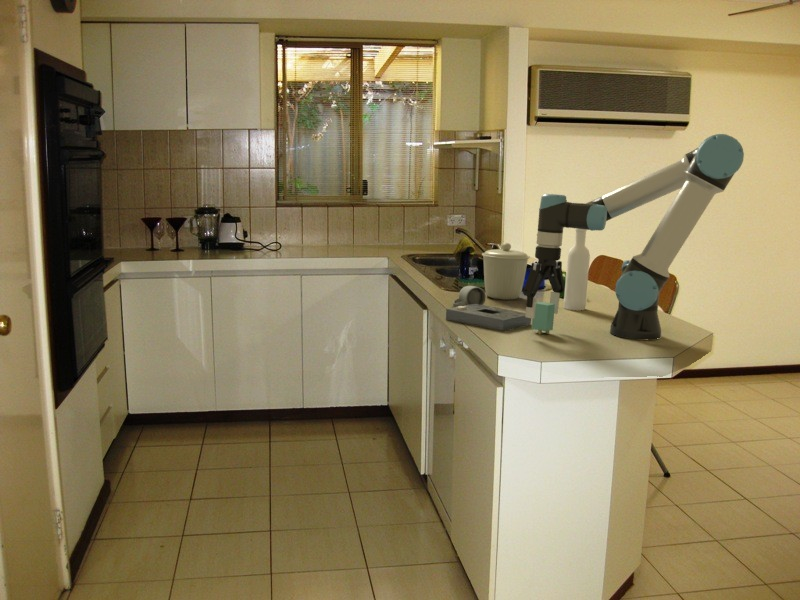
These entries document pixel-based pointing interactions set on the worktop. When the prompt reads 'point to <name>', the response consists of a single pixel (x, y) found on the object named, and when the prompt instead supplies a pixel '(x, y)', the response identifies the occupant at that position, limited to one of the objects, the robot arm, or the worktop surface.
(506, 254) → the canister
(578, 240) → the bottle
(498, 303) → the worktop surface
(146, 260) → the worktop surface
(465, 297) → the ceramic mug
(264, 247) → the worktop surface
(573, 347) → the worktop surface
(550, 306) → the plug
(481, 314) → the socket
